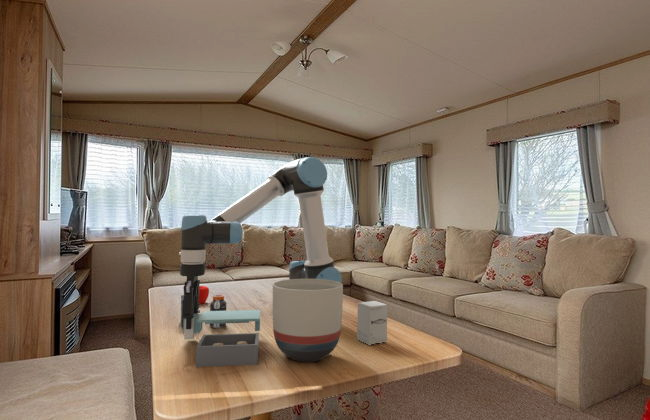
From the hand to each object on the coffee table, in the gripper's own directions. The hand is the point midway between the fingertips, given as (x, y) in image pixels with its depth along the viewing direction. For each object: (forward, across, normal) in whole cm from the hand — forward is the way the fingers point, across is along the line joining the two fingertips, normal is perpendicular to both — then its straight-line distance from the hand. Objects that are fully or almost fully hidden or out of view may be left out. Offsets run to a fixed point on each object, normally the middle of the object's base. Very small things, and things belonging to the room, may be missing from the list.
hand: (190, 336), depth 120 cm
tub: (+2, +16, +14) cm, 21 cm away
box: (+3, -24, -5) cm, 25 cm away
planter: (+3, +16, +36) cm, 39 cm away
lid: (-2, 0, +10) cm, 10 cm away
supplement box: (+2, +3, +59) cm, 59 cm away
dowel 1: (+2, +17, +11) cm, 20 cm away
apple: (+3, -62, -8) cm, 63 cm away
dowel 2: (+2, +16, +17) cm, 23 cm away
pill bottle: (+3, -21, +6) cm, 22 cm away
